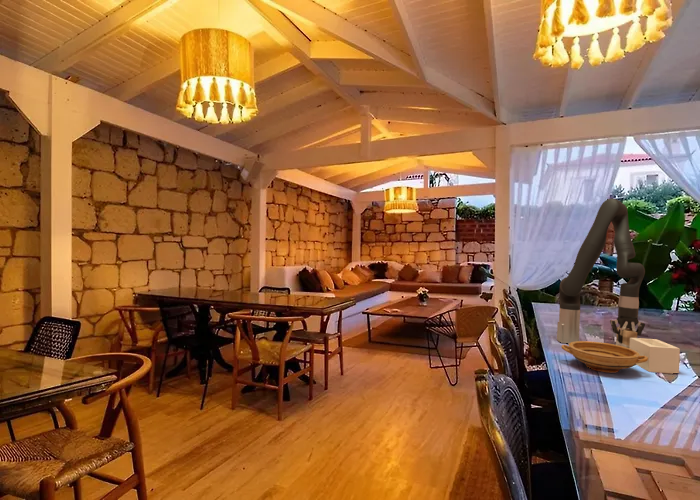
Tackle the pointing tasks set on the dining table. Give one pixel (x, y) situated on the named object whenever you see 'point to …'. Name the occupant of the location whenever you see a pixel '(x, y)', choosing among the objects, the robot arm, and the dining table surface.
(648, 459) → the dining table surface
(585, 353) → the ceramic bowl
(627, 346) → the tan wooden block
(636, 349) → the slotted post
